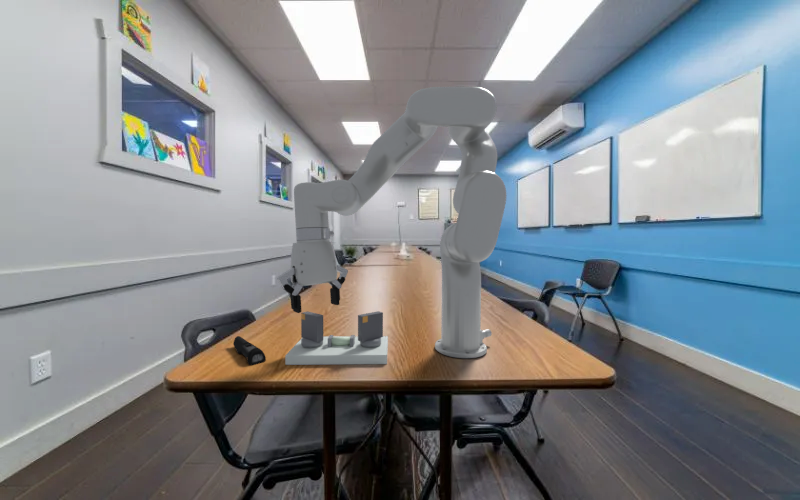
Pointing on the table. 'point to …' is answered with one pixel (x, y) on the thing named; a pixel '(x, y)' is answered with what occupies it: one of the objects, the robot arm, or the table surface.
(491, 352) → the table surface
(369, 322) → the knob
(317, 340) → the knob
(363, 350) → the level plate
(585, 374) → the table surface
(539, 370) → the table surface
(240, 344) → the electric trimmer
